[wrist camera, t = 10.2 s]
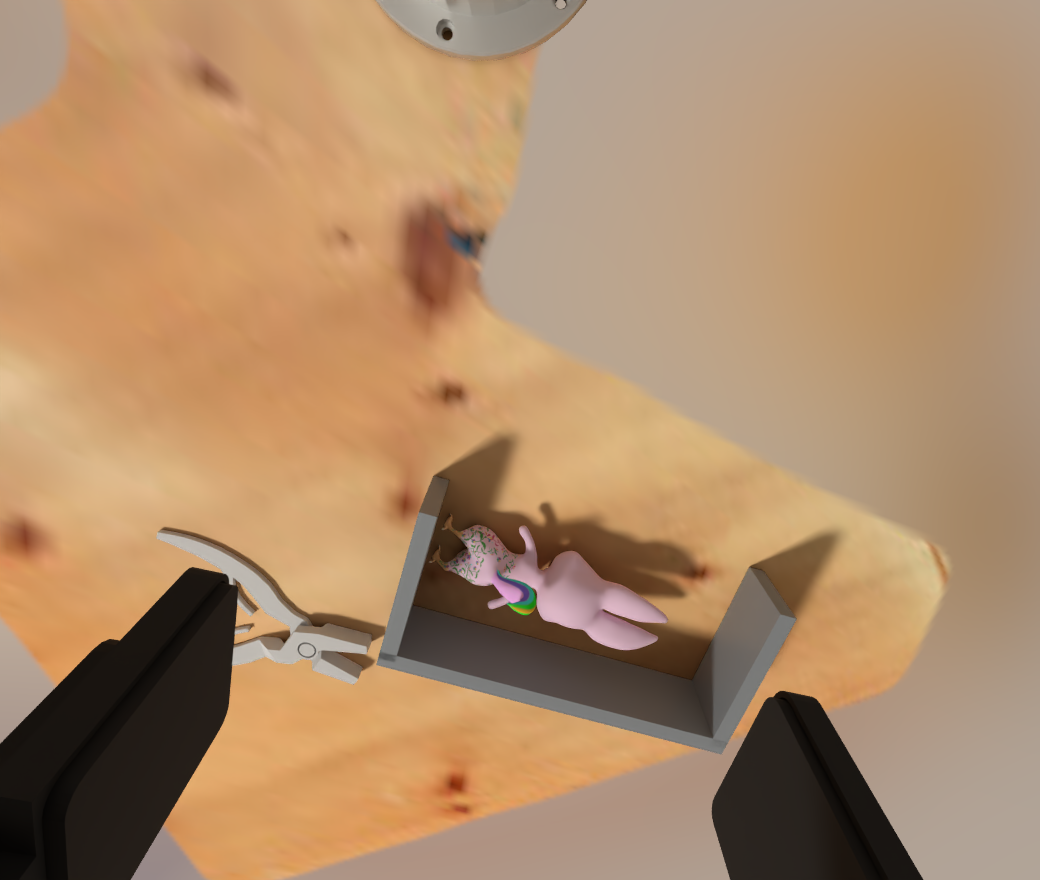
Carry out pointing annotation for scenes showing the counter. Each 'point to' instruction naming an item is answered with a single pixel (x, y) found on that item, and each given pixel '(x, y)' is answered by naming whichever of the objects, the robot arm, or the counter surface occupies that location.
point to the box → (589, 659)
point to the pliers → (279, 618)
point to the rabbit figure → (553, 588)
